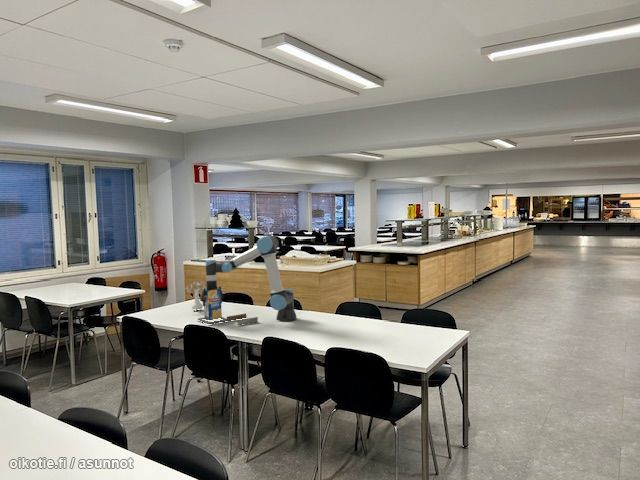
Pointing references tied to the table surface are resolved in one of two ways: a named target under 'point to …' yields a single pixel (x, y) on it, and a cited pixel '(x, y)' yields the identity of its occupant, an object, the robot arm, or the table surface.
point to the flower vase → (196, 294)
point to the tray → (214, 321)
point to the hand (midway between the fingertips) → (212, 309)
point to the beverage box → (213, 304)
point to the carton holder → (243, 321)
